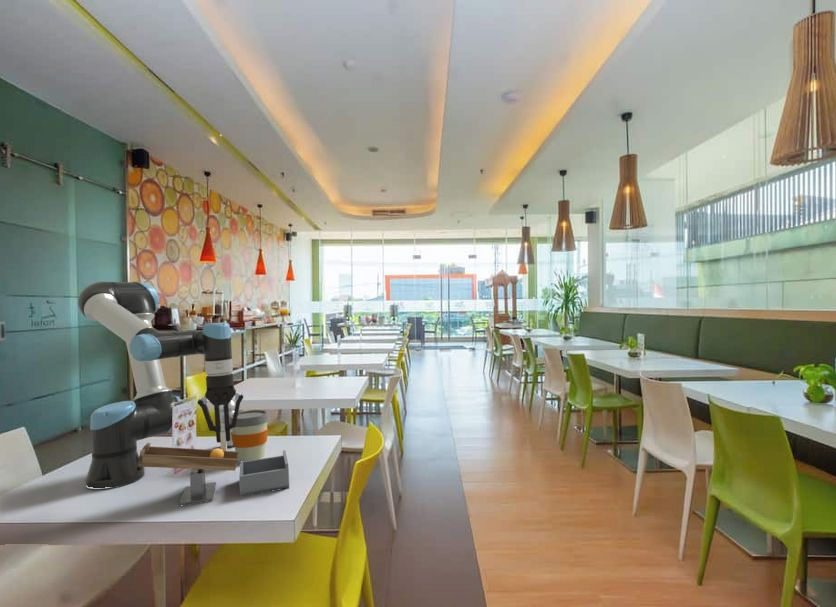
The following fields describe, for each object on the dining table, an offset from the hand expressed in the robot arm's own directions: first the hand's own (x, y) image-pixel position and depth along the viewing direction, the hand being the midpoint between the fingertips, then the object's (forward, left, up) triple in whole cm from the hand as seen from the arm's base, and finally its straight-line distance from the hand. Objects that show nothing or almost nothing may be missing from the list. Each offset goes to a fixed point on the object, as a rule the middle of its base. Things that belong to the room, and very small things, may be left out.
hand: (224, 452), depth 136 cm
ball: (+6, -6, +2) cm, 8 cm away
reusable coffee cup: (-12, +17, -9) cm, 23 cm away
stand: (+3, -10, -9) cm, 13 cm away
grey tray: (+13, +4, -9) cm, 16 cm away
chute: (-1, -9, -1) cm, 10 cm away
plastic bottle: (-31, +21, -9) cm, 39 cm away
